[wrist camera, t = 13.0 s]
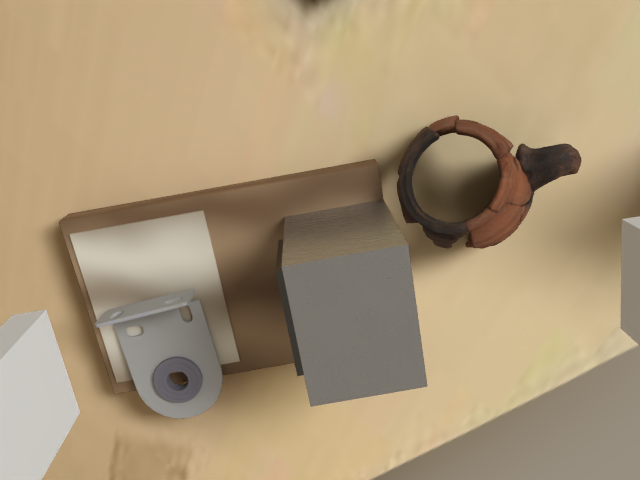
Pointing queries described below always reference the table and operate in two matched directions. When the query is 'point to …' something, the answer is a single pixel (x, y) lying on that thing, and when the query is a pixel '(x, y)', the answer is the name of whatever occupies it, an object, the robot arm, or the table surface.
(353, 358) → the grey box
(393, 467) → the table surface
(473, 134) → the pottery mug
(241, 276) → the brown wooden flat board
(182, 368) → the bracket
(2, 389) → the robot arm
